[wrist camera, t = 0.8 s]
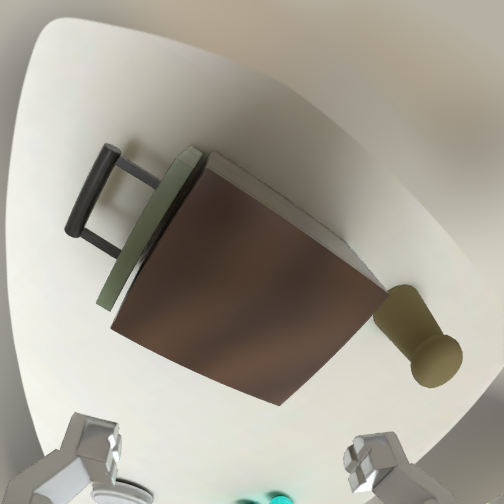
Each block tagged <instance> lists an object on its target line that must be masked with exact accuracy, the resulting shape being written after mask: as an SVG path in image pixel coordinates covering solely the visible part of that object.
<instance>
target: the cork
mask: <svg viewBox="0 0 504 504" xmlns="http://www.w3.org/2000/svg"><path fill="white" fill-rule="evenodd" d="M388 293H389V294H390V296H389V297H388V298H387V299H386V300H385V302H384V303H383V304H382V305H381V306H380V307H379V308H378V309H377V311H376V312H375V313H374V316H373V318H374V321H375V324H376V325H377V326H378V327H379V328H380V330H381V331H382V332H383V333H384V334H385V335H386V336H387V337H388V338H389V339H390V340H391V341H392V342H393V343H394V344H395V346H396V347H397V348H398V349H399V350H400V351H401V352H402V353H403V354H404V355H405V356H406V357H407V358H408V360H409V361H410V362H411V371H412V375H413V377H414V378H415V380H416V381H417V382H418V383H419V384H420V385H421V386H424V387H428V388H435V387H438V386H440V385H443V384H444V383H446V382H447V381H449V380H450V379H451V378H452V377H453V376H454V375H455V374H456V373H457V371H458V370H459V368H460V366H461V364H462V358H463V355H462V350H461V347H460V345H459V343H458V342H457V341H456V340H455V339H453V338H452V337H450V336H448V335H444V334H443V332H442V331H441V329H440V327H439V326H438V324H437V322H436V321H435V319H434V317H433V316H432V314H431V312H430V311H429V309H428V307H427V306H426V304H425V303H424V301H423V299H422V298H421V296H420V295H419V293H418V291H417V290H416V289H415V288H413V287H412V286H408V285H401V286H397V287H395V288H393V289H391V290H389V291H388Z"/></svg>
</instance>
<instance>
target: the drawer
mask: <svg viewBox="0 0 504 504" xmlns="http://www.w3.org/2000/svg"><path fill="white" fill-rule="evenodd" d="M121 154H122V152H121V150H120V149H118V148H117V147H115V146H113V145H111V144H107V143H105V144H104V145H103V147H102V149H101V151H100V153H99V155H98V157H97V159H96V161H95V163H94V165H93V167H92V169H91V171H90V173H89V175H88V177H87V179H86V181H85V183H84V185H83V187H82V189H81V191H80V194H79V196H78V198H77V200H76V202H75V205H74V207H73V209H72V212H71V214H70V216H69V219H68V221H67V223H66V226H65V228H64V230H65V232H66V234H68V235H69V236H71V237H73V238H79V237H82V238H83V239H85V240H86V241H88V242H90V243H91V244H93V245H94V246H96V247H97V248H99V249H101V250H102V251H104V252H105V253H107V254H109V255H110V256H112V257H114V258H115V259H117V261H116V263H115V265H114V267H113V269H112V271H111V273H110V275H109V277H108V279H107V281H106V283H105V285H104V287H103V289H102V291H101V293H100V295H99V297H98V299H97V301H96V304H98V305H99V306H101V307H103V308H104V309H106V310H108V311H111V309H112V307H113V306H114V304H115V302H116V300H117V298H118V296H119V294H120V292H121V290H122V289H123V287H124V285H125V283H126V281H127V279H128V278H129V276H130V274H131V272H132V270H133V268H134V267H135V265H136V263H137V261H138V260H139V258H140V256H141V254H142V253H143V251H144V249H145V247H146V246H147V244H148V242H149V240H150V239H151V237H152V235H153V234H154V232H155V230H156V229H157V227H158V225H159V224H160V222H161V220H162V219H163V217H164V215H165V214H166V212H167V211H168V209H169V207H170V206H171V204H172V202H173V201H174V199H175V198H176V196H177V195H178V193H179V191H180V190H181V188H182V187H183V185H184V184H185V182H186V180H187V179H188V177H189V176H190V174H191V173H192V171H193V170H194V168H195V166H196V165H197V163H198V162H199V160H200V158H201V157H202V155H203V153H202V152H200V151H199V150H197V149H195V148H194V147H192V146H190V147H189V148H187V149H186V150H185V151H184V152H183V153H181V154H180V155H179V156H178V157H177V158H176V159H175V160H174V162H173V163H172V165H171V166H170V168H169V170H168V171H167V173H166V174H165V176H164V178H163V179H162V180H160V179H159V178H157V177H155V176H154V175H152V174H151V173H149V172H147V171H146V170H144V169H142V168H141V167H139V166H138V165H136V164H134V163H133V162H131V161H130V160H128V159H126V158H125V157H123V156H121ZM115 165H117V166H119V167H120V168H122V169H124V170H125V171H127V172H128V173H130V174H132V175H133V176H135V177H136V178H138V179H140V180H141V181H143V182H144V183H146V184H148V185H149V186H151V187H152V188H154V189H156V191H155V193H154V194H153V196H152V198H151V199H150V201H149V203H148V204H147V206H146V208H145V210H144V211H143V213H142V215H141V217H140V218H139V220H138V222H137V224H136V225H135V227H134V229H133V231H132V233H131V235H130V236H129V238H128V240H127V242H126V244H125V246H124V248H123V249H122V250H121V249H119V248H117V247H116V246H114V245H112V244H111V243H109V242H108V241H106V240H104V239H103V238H101V237H100V236H98V235H96V234H95V233H93V232H92V231H90V230H89V229H87V228H84V227H85V225H86V223H87V221H88V218H89V216H90V214H91V212H92V210H93V208H94V206H95V204H96V202H97V200H98V198H99V196H100V194H101V192H102V190H103V188H104V186H105V184H106V182H107V180H108V178H109V176H110V174H111V172H112V170H113V169H114V167H115Z"/></svg>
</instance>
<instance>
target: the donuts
mask: <svg viewBox="0 0 504 504" xmlns="http://www.w3.org/2000/svg"><path fill="white" fill-rule="evenodd" d="M270 504H293V503H292V502H291V501H290V500H289V499H288V498H287V497H285V496H277V497H275V498H273V499H272V500H271V502H270Z"/></svg>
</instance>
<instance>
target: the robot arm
mask: <svg viewBox="0 0 504 504" xmlns="http://www.w3.org/2000/svg"><path fill="white" fill-rule="evenodd" d="M119 429H120V428H119V424H118V423H117V422H112V421H108V420H103V419H99V418H95V417H91V416H88V415H84V414H80V413H76V412H75V413H74V414H73V415H72V417H71V420H70V423H69V425H68V428H67V431H66V433H65V436H64V439H63V442H62V445H61V448H60V450H57V449H55V450H54V451H52V452H51V453H49V454H48V455H46V456H45V457H44V458H42V459H41V460H39V461H38V462H36V463H35V464H33V465H32V466H31V467H29V468H27V469H26V470H24V471H23V472H21V473H20V474H18V475H17V476H15V477H14V478H12V479H11V480H10V481H9V484H8V486H7V489H6V492H5V495H4V498H3V501H2V504H68V503H69V502H70V501H71V500H72V499H73V498H74V497H75V496H76V495H78V494H79V493H80V492H81V491H82V490H83V489H84V488H85V487H86V486H87V485H88V484H89V483H90V482H91V481H95V482H99V483H104V484H108V485H113V486H115V481H116V476H117V471H118V469H117V466H116V462H117V461H119V460H120V456H121V449H122V439H121V435H120V434H119ZM343 461H344V467H345V470H347V471H348V472H349V473H350V476H349V478H348V480H349V483H350V486H351V490H352V493H354V492H361V491H368V490H372V492H373V493H374V494H375V495H376V496H377V497H378V498H380V499H381V500H382V501H383V502H384V503H385V504H458V503H457V501H456V499H455V497H454V494H453V492H452V491H451V490H450V489H448V488H447V487H445V486H444V485H442V484H441V483H439V482H438V481H437V480H435V479H434V478H432V477H431V476H430V475H428V474H427V473H425V472H424V471H422V470H421V469H419V468H418V467H417V466H416V465H414V464H413V463H411V464H409V462H408V459H407V457H406V455H405V453H404V451H403V448H402V446H401V444H400V442H399V440H398V438H397V435H396V434H395V433H394V432H384V433H375V434H367V435H359V436H357V437H355V438H354V440H353V445H351V446H350V447H348V448H347V449H346V451H345V453H344V458H343ZM90 480H91V481H90ZM486 504H504V493H503V494H502V495H500V496H498V497H497V498H495V499H493V500H491V501H489V502H487V503H486Z"/></svg>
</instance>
